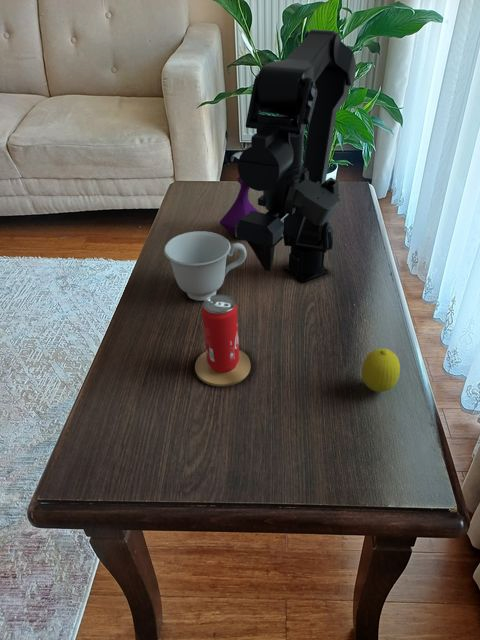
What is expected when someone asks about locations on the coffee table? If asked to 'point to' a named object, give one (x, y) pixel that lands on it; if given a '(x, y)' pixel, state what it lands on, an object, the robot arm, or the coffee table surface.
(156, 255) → the coffee table surface
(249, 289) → the coffee table surface
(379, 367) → the lemon
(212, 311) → the beverage can
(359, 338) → the coffee table surface
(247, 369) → the trivet
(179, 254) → the teacup
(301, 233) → the robot arm
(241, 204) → the perfume bottle
